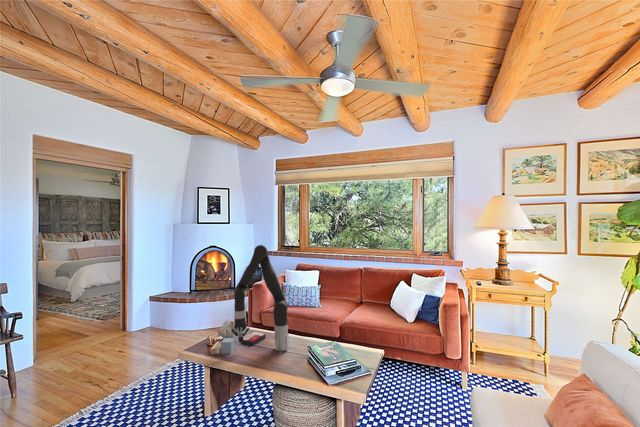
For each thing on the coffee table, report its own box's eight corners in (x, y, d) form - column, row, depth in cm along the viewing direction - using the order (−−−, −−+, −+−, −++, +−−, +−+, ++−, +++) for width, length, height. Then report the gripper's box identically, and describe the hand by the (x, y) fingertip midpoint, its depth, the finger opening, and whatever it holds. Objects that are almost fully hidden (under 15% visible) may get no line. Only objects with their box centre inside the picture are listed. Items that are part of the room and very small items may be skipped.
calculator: (240, 338, 220) (254, 330, 233) (241, 344, 220) (254, 336, 234) (252, 341, 215) (265, 333, 228) (252, 347, 215) (265, 338, 228)
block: (234, 349, 210) (234, 338, 210) (231, 354, 203) (230, 342, 203) (224, 349, 210) (224, 338, 210) (220, 354, 203) (220, 342, 203)
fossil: (222, 341, 219) (226, 320, 223) (212, 339, 222) (217, 318, 227) (235, 340, 232) (239, 320, 237) (226, 338, 236) (230, 318, 241)
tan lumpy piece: (225, 346, 215) (225, 341, 215) (219, 354, 203) (219, 348, 203) (217, 346, 215) (217, 341, 215) (210, 353, 203) (210, 348, 203)
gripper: (251, 314, 209) (251, 339, 209) (232, 315, 210) (233, 339, 209) (248, 318, 202) (248, 344, 201) (228, 318, 202) (229, 344, 202)
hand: (240, 341), depth 205 cm, fingers closed
